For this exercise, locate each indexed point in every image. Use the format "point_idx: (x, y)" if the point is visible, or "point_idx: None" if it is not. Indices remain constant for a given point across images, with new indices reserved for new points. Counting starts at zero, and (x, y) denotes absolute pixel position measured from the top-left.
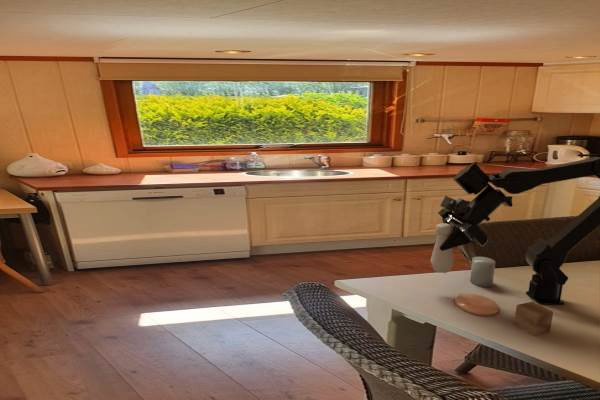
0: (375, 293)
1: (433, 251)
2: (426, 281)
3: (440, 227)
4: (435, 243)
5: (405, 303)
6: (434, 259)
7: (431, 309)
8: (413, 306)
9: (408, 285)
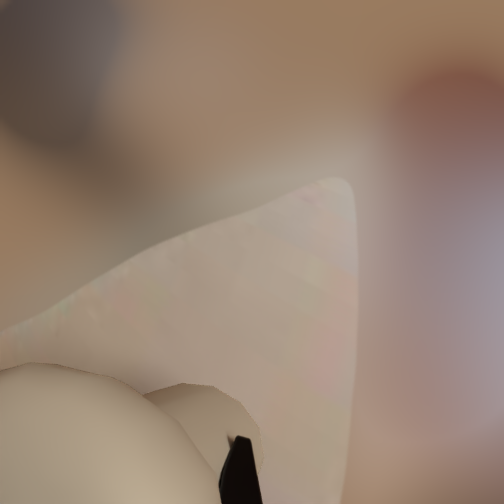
0: (277, 211)
1: (208, 400)
2: (319, 444)
3: (6, 376)
4: (196, 415)
5: (184, 261)
6: (179, 385)
7: (122, 314)
8: (159, 274)
9: (306, 351)
